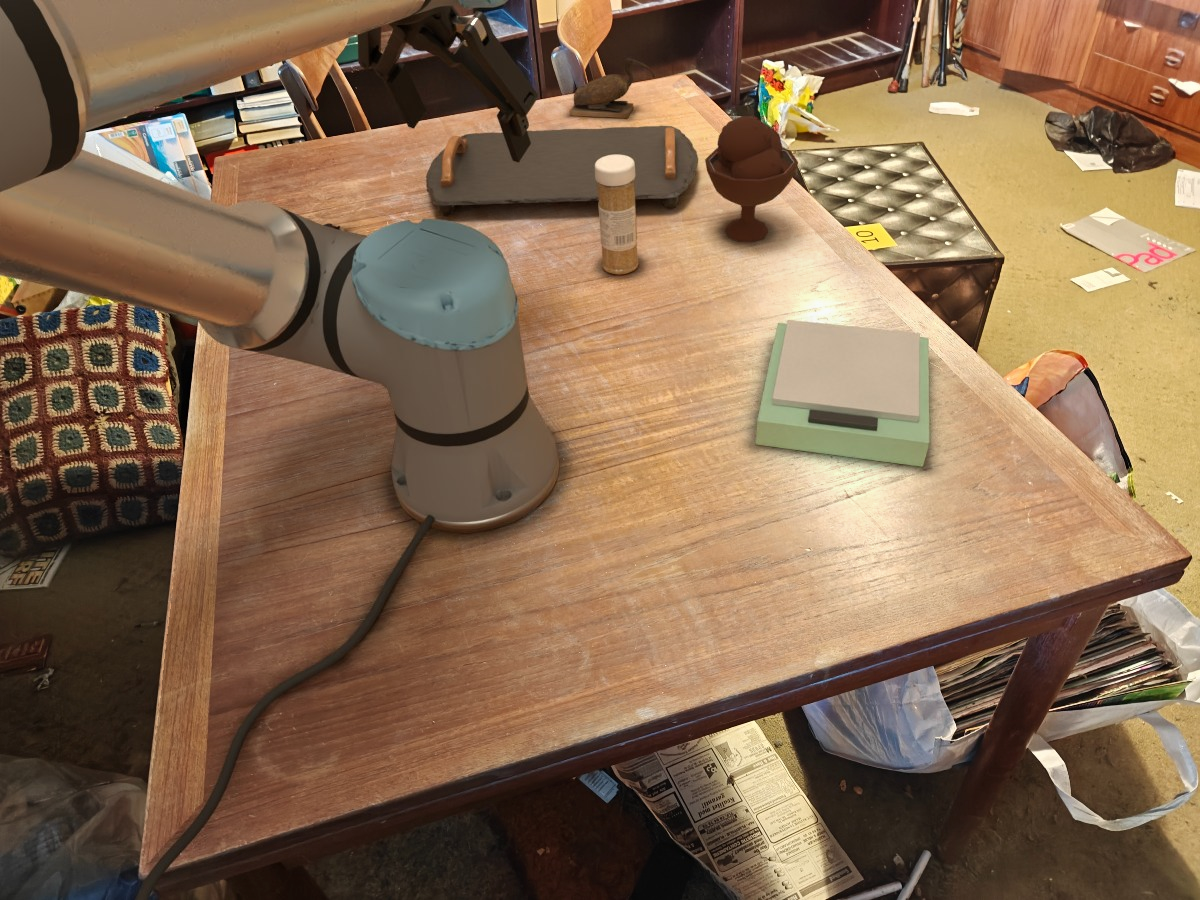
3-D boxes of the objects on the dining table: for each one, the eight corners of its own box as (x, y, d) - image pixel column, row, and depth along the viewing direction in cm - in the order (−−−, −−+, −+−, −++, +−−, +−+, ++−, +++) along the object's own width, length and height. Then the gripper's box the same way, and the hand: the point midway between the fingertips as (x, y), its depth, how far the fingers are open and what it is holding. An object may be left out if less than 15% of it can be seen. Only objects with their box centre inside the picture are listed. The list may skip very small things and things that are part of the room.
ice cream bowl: (789, 254, 105) (801, 134, 95) (698, 250, 107) (700, 132, 97) (792, 213, 112) (804, 98, 102) (707, 210, 114) (710, 96, 104)
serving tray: (415, 223, 117) (406, 180, 112) (446, 151, 134) (439, 111, 129) (700, 214, 114) (701, 169, 109) (695, 142, 130) (696, 101, 126)
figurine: (658, 109, 141) (657, 54, 135) (652, 120, 138) (651, 64, 132) (577, 105, 144) (573, 51, 138) (569, 116, 141) (565, 61, 135)
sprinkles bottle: (637, 255, 107) (633, 151, 98) (639, 274, 103) (636, 168, 94) (600, 258, 107) (593, 154, 98) (602, 277, 104) (594, 171, 94)
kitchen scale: (922, 467, 77) (931, 435, 74) (755, 444, 80) (757, 413, 78) (922, 361, 88) (930, 330, 85) (775, 345, 91) (778, 315, 89)
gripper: (541, -44, 70) (585, 139, 90) (307, -99, 78) (394, 81, 97) (496, 21, 68) (551, 194, 88) (260, -42, 76) (358, 130, 95)
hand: (468, 135), depth 92 cm, fingers open, 13 cm apart
